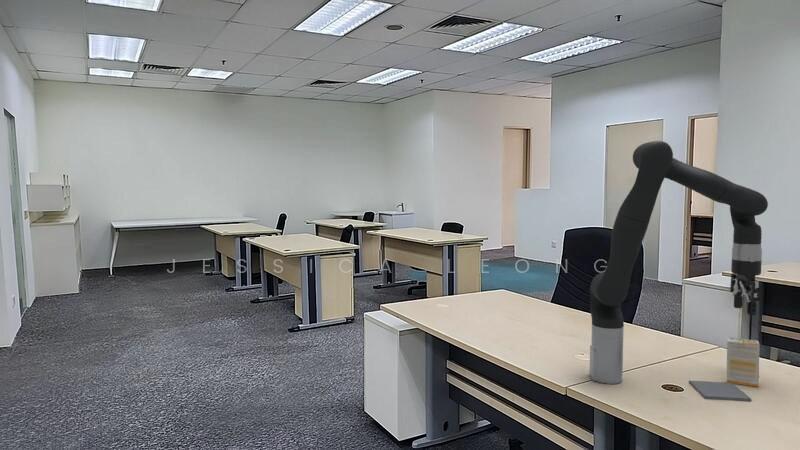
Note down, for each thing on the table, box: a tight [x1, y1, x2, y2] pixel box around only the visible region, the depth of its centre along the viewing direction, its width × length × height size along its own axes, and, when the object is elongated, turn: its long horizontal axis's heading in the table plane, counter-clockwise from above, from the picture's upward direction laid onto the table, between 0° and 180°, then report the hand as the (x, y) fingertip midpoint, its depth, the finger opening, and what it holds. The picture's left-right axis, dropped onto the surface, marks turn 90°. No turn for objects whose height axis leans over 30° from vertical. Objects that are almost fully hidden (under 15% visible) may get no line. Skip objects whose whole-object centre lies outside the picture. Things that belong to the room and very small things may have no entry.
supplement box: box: [726, 337, 761, 388], centre depth 160 cm, size 8×5×13 cm, turn 57°
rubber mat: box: [688, 380, 752, 402], centre depth 153 cm, size 12×12×1 cm
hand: (744, 311), depth 158 cm, fingers open, 8 cm apart
